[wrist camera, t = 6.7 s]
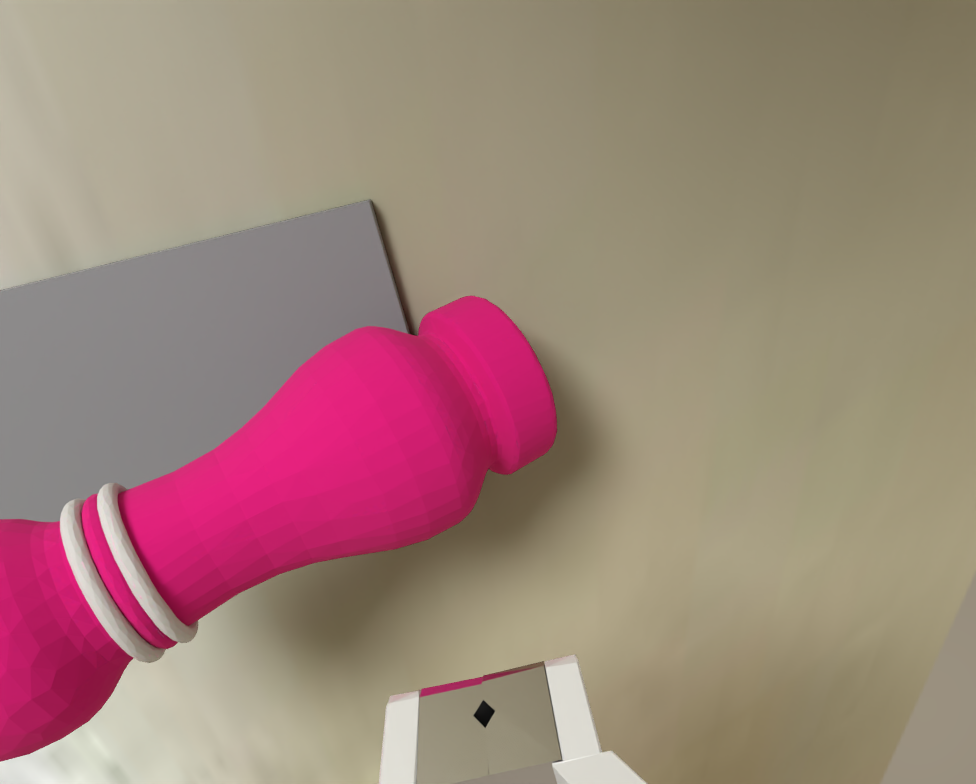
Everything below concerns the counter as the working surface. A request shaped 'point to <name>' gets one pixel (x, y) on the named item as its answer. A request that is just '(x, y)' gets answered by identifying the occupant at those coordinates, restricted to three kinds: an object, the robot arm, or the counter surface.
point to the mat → (173, 350)
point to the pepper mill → (265, 506)
